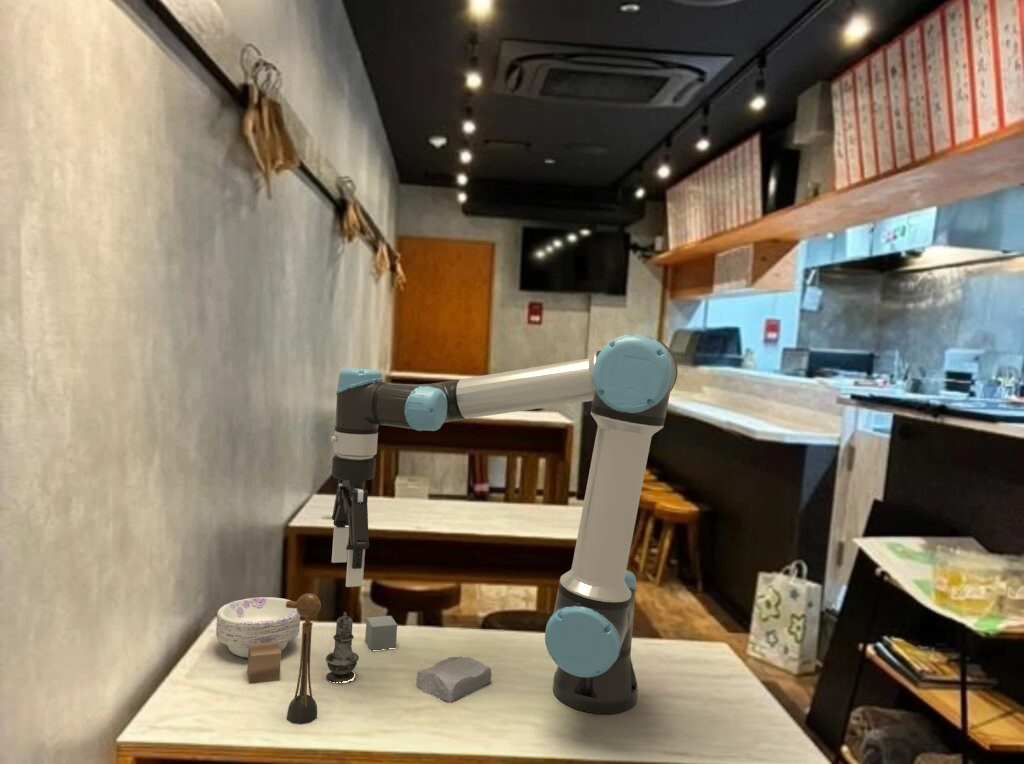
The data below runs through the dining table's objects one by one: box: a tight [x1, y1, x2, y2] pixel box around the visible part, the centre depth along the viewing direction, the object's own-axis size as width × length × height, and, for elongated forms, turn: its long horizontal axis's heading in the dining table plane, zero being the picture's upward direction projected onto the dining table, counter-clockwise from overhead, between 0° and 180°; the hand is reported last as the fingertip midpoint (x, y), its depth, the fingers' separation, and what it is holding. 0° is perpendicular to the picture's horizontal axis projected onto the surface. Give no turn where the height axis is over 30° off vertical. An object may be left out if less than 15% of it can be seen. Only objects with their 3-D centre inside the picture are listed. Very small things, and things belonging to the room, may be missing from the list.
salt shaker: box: [325, 611, 360, 684], centre depth 133 cm, size 6×6×12 cm
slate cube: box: [364, 615, 398, 652], centre depth 148 cm, size 5×5×5 cm
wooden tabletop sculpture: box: [286, 593, 322, 725], centre depth 118 cm, size 6×5×20 cm
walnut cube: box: [246, 642, 282, 684], centre depth 131 cm, size 5×5×5 cm
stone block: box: [416, 656, 492, 703], centre depth 133 cm, size 12×5×10 cm
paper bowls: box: [215, 596, 301, 659], centre depth 142 cm, size 15×15×8 cm
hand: (346, 573), depth 132 cm, fingers open, 13 cm apart
